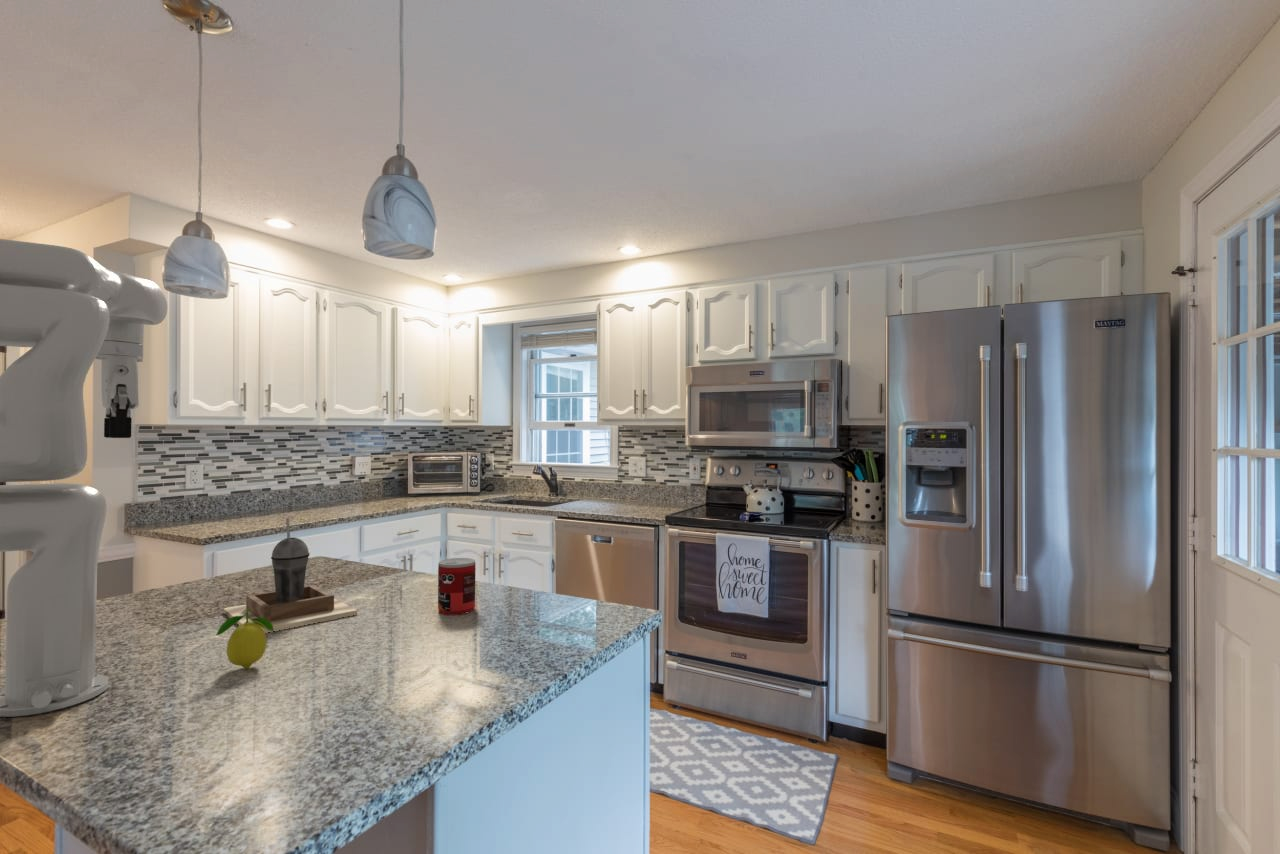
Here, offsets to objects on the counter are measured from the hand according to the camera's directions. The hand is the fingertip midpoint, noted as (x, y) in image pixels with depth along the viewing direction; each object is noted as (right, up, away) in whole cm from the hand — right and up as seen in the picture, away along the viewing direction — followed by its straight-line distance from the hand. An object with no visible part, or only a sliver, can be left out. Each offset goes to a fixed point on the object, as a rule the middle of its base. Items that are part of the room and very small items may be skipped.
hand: (117, 437), depth 121 cm
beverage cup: (+29, -38, +11) cm, 49 cm away
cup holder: (+29, -39, +11) cm, 49 cm away
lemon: (+39, -39, -20) cm, 58 cm away
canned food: (+64, -39, +14) cm, 76 cm away
